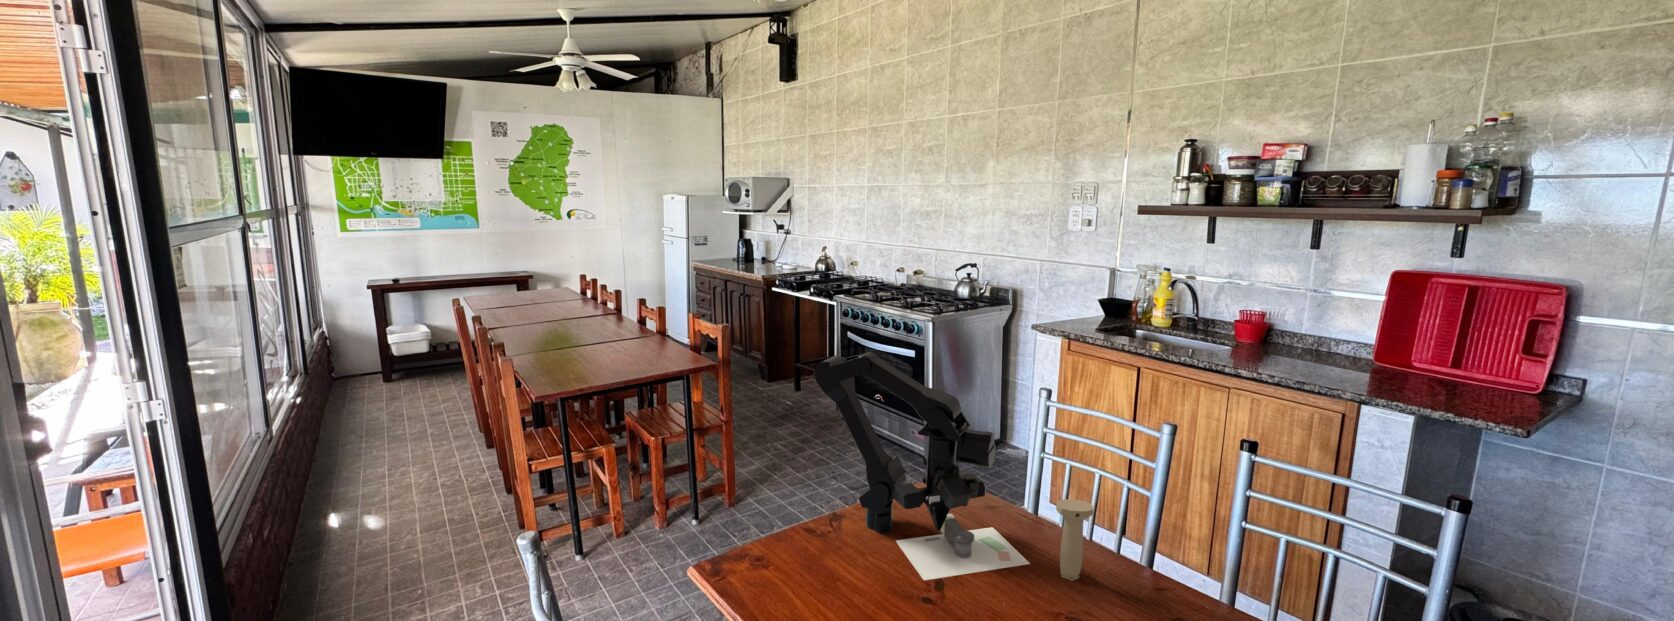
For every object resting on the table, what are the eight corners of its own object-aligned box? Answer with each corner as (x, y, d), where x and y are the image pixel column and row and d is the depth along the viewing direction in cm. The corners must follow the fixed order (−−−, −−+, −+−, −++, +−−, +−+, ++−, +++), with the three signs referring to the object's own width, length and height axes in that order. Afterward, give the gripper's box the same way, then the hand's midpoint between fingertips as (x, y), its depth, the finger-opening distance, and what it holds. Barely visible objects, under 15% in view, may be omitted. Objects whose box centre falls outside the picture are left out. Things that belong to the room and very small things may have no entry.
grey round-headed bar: (976, 557, 134) (977, 538, 134) (957, 559, 133) (958, 541, 133) (954, 530, 145) (955, 513, 144) (936, 532, 144) (937, 515, 143)
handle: (1090, 588, 126) (1096, 512, 124) (1054, 586, 127) (1059, 510, 124) (1083, 574, 131) (1089, 500, 128) (1049, 572, 131) (1053, 498, 129)
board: (895, 545, 141) (895, 539, 141) (992, 531, 147) (992, 526, 147) (923, 585, 127) (923, 579, 127) (1029, 568, 133) (1030, 562, 133)
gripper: (919, 479, 128) (916, 557, 131) (1003, 466, 135) (999, 540, 138) (892, 457, 138) (890, 530, 141) (972, 446, 145) (968, 515, 148)
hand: (938, 529), depth 142 cm, fingers closed
